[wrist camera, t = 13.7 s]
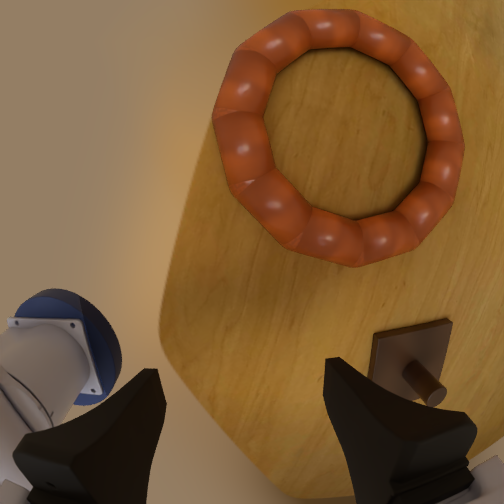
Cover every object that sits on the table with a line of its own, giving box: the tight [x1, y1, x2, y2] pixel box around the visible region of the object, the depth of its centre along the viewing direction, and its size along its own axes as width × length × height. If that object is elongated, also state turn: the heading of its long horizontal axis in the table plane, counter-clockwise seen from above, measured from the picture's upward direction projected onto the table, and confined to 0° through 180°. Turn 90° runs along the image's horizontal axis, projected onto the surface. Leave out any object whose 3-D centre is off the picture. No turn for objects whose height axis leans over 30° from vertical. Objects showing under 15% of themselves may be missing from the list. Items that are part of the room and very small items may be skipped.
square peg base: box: [368, 319, 453, 407], centre depth 21 cm, size 8×8×6 cm
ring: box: [212, 9, 465, 268], centre depth 18 cm, size 18×18×3 cm
